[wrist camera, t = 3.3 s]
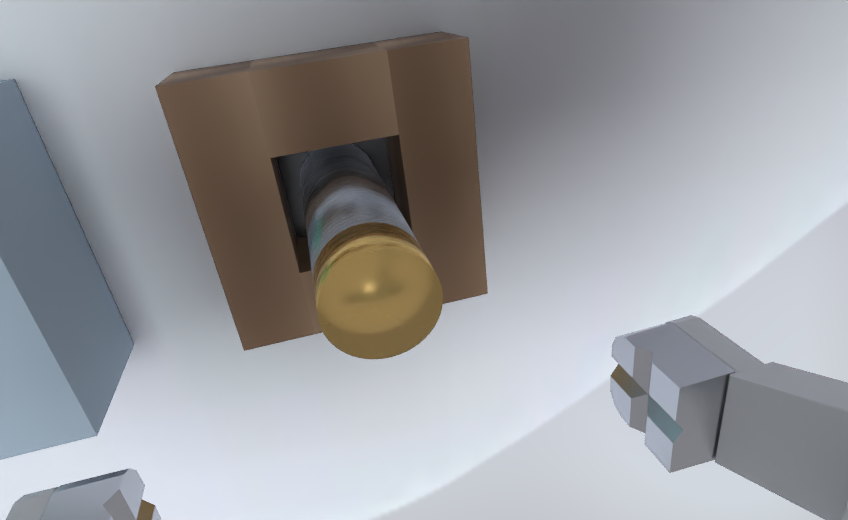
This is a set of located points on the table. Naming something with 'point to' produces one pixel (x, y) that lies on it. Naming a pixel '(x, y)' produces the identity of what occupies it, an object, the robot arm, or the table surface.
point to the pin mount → (316, 129)
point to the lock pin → (364, 258)
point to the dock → (49, 301)
